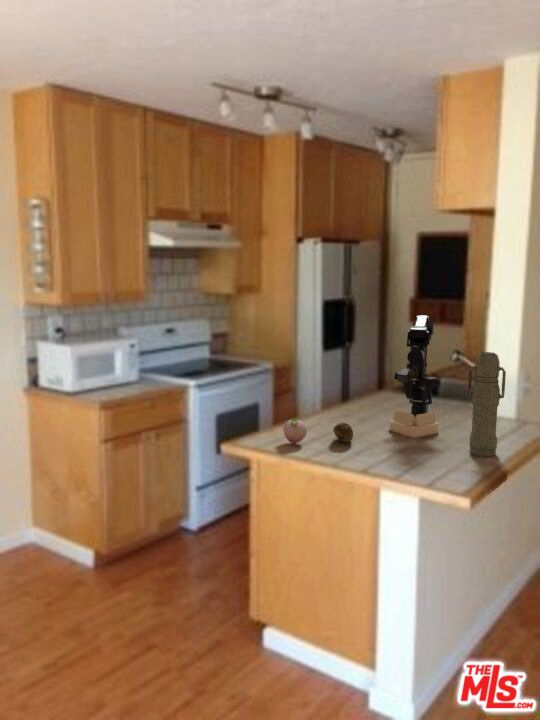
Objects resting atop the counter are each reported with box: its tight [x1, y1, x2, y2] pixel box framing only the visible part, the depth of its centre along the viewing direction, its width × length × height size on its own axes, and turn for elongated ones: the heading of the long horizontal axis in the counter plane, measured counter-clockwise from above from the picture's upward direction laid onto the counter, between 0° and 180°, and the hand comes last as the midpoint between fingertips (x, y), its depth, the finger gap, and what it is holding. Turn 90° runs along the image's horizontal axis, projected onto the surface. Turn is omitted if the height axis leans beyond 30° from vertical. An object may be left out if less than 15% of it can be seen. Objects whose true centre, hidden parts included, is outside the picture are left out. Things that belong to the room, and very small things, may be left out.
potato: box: [332, 422, 354, 443], centre depth 244 cm, size 8×13×8 cm, turn 158°
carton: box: [389, 417, 440, 439], centre depth 260 cm, size 14×14×4 cm
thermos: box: [467, 351, 507, 458], centre depth 229 cm, size 9×12×35 cm
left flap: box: [416, 411, 437, 426], centre depth 254 cm, size 10×1×4 cm, turn 124°
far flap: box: [392, 409, 414, 426], centre depth 255 cm, size 1×10×4 cm, turn 35°
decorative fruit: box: [282, 416, 308, 445], centre depth 242 cm, size 9×8×10 cm
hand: (415, 400), depth 259 cm, fingers open, 8 cm apart
